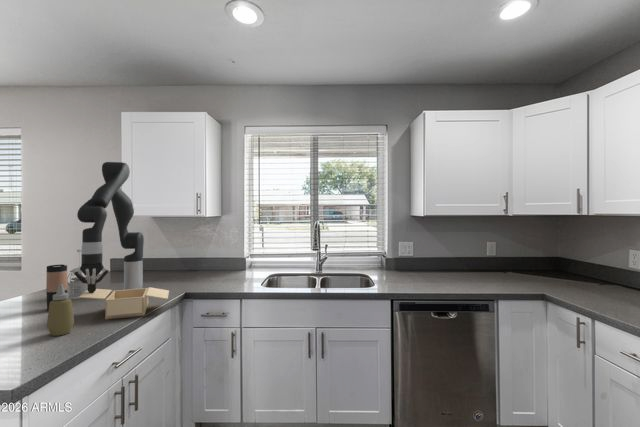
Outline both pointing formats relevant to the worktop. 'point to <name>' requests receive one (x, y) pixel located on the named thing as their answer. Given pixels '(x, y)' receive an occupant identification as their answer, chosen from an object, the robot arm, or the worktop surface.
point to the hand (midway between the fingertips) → (91, 292)
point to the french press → (76, 285)
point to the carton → (126, 303)
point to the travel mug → (55, 280)
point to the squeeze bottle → (60, 313)
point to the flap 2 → (157, 293)
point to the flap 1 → (96, 294)
